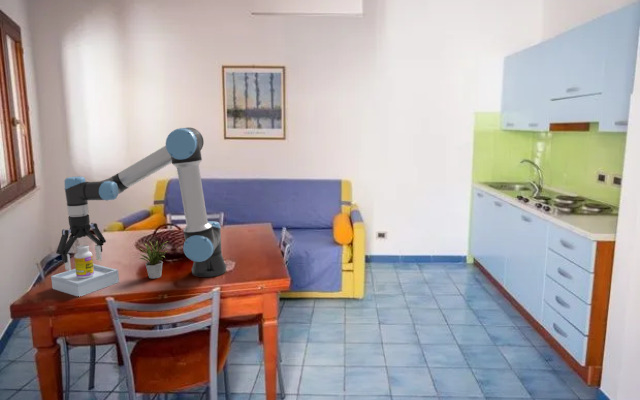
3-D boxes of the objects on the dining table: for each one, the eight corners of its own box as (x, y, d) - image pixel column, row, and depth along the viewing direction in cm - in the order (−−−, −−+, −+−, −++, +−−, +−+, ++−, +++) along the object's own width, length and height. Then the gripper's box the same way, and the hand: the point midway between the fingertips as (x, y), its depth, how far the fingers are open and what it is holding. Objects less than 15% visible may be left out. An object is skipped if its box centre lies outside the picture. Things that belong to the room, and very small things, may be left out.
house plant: (181, 272, 205) (178, 237, 202) (164, 283, 192) (161, 245, 189) (152, 269, 208) (150, 235, 205) (134, 280, 195) (131, 243, 192)
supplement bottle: (87, 279, 186) (83, 249, 183) (72, 278, 187) (69, 248, 185) (98, 274, 192) (94, 244, 190) (84, 273, 193) (80, 244, 191)
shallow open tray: (119, 282, 194) (118, 269, 193) (79, 296, 178) (77, 283, 177) (92, 275, 202) (91, 263, 201) (52, 288, 187) (50, 276, 186)
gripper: (100, 208, 197) (105, 255, 201) (42, 220, 176) (48, 272, 180) (111, 209, 193) (116, 257, 197) (53, 222, 172) (60, 275, 176)
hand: (84, 264), depth 189 cm, fingers open, 13 cm apart
